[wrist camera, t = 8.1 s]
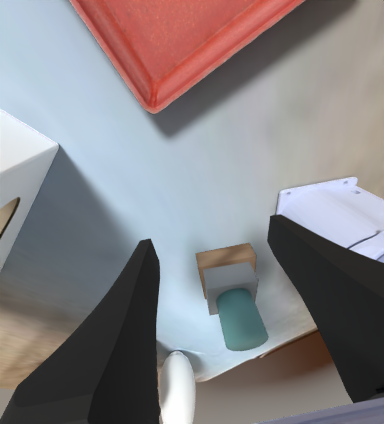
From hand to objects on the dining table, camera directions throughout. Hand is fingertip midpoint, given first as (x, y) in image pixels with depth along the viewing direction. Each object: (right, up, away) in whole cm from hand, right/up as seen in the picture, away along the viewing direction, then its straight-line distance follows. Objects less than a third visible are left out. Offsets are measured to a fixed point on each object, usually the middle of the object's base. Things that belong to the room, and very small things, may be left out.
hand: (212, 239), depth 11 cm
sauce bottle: (-5, -33, +35) cm, 48 cm away
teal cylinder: (+4, -10, +13) cm, 17 cm away
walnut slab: (+4, -7, +18) cm, 20 cm away
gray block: (+4, -8, +16) cm, 18 cm away
